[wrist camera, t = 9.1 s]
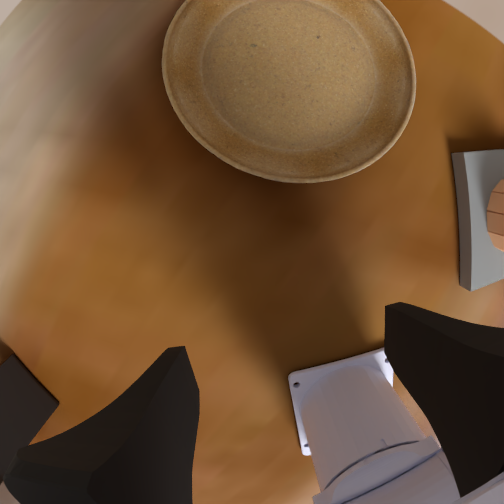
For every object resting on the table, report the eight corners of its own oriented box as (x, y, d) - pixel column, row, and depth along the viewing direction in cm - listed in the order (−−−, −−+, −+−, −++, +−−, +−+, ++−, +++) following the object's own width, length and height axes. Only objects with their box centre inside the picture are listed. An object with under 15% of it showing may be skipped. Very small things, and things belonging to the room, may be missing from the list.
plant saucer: (146, 157, 18) (133, 154, 16) (203, -34, 15) (200, -55, 12) (376, 207, 19) (395, 211, 17) (405, 18, 16) (421, 4, 14)
